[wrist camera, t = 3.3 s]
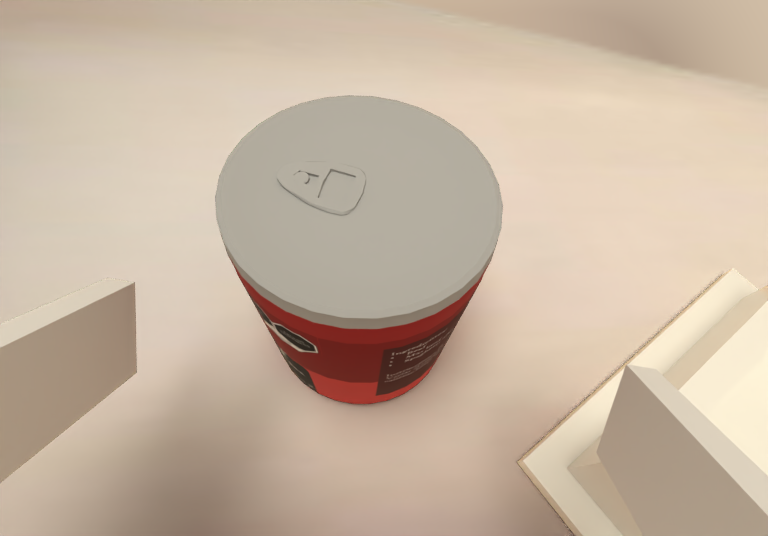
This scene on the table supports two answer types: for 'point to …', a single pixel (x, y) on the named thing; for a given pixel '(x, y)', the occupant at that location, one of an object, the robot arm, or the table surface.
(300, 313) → the canned food
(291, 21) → the table surface
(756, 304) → the white square tray
